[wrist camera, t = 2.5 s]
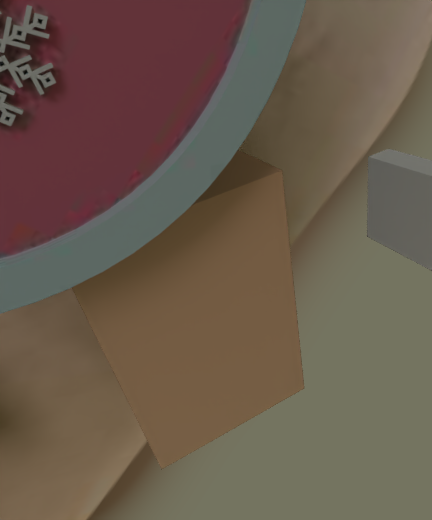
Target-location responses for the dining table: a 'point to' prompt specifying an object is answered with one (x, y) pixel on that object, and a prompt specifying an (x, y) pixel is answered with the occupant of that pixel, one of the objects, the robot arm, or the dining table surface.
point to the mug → (120, 123)
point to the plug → (204, 314)
